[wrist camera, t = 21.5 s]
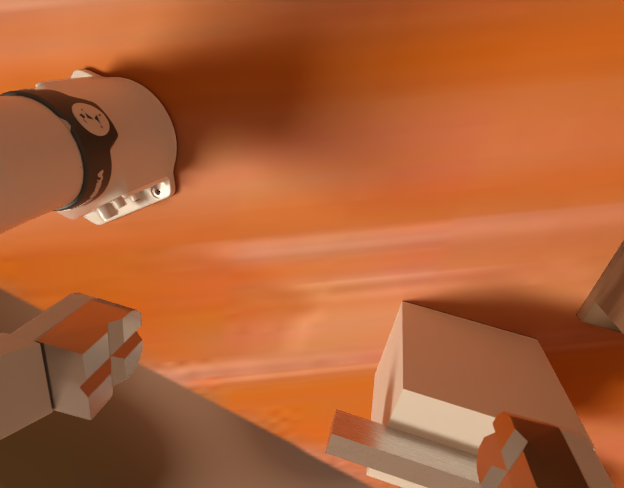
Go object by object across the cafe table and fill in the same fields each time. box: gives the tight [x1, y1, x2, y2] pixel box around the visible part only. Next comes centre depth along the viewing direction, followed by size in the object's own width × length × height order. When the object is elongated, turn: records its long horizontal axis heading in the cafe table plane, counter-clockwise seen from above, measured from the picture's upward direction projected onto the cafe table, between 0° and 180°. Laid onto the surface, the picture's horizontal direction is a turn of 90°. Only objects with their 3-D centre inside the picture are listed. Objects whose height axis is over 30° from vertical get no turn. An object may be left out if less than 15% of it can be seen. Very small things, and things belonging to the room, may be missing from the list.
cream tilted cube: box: [366, 301, 595, 488], centre depth 45 cm, size 18×14×16 cm
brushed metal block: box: [325, 409, 482, 488], centre depth 37 cm, size 26×3×3 cm, turn 78°
